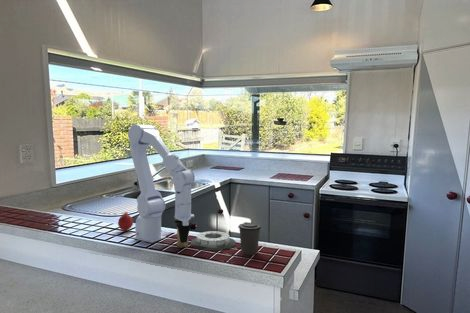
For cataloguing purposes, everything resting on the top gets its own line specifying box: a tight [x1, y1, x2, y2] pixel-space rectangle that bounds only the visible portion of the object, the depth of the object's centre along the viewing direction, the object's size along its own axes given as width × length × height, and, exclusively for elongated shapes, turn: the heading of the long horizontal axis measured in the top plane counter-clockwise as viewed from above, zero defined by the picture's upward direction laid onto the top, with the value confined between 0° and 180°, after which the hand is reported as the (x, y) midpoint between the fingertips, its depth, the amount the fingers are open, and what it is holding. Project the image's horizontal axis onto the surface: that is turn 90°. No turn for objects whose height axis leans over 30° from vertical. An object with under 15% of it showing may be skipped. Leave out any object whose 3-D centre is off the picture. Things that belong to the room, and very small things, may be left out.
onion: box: [117, 211, 134, 232], centre depth 138 cm, size 6×6×8 cm
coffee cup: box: [237, 221, 262, 256], centre depth 115 cm, size 8×8×10 cm
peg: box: [176, 226, 189, 248], centre depth 121 cm, size 4×4×7 cm
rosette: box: [190, 230, 237, 252], centre depth 124 cm, size 17×17×3 cm
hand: (182, 240), depth 121 cm, fingers closed on peg, 4 cm apart
